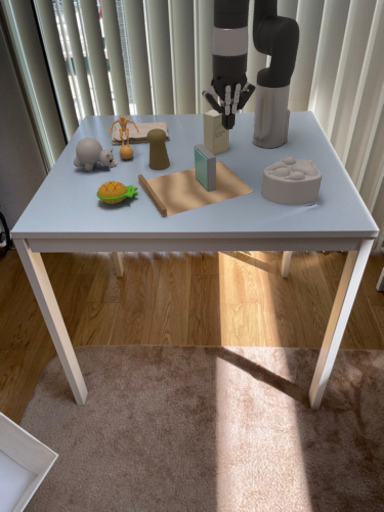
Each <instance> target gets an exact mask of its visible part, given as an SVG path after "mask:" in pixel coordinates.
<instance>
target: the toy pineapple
mask: <svg viewBox="0 0 384 512" xmlns="http://www.w3.org/2000/svg"><path fill="white" fill-rule="evenodd" d="M138 189H139V188H138V187H137V186H134V185H133V184H130V185H127V186H126V185H125V184H124V183H122V182H120V181H116V180H109V181H107V182H105V183H104V182H103V184H101V185H100V186H99V187H98V189H97V192H96V197H97V198H98V199H99V200H100V201H101V202H103V203H105V204H107V205H108V204H110V205H117V204H118V203H121V202H123V201H125V199H126V198H133V196H135V195H138Z"/></svg>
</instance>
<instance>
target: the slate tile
mask: <svg viewBox="0 0 384 512" xmlns="http://www.w3.org/2000/svg"><path fill="white" fill-rule="evenodd" d="M193 150H194V151H193V152H194V168H195V177H196V179H197V180H198V181H199V182H200V183H201V184H202V185H203V186H204V187H205V188H206V189H207V191H208V192H211V191H215V190H216V162H217V156H216V155H213V154H212V153H211V152H210V151H209V150H208V149H207V148H206V147H205V146H204V144H202V143H200V144H195V145H194V147H193Z"/></svg>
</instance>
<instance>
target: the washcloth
mask: <svg viewBox="0 0 384 512" xmlns="http://www.w3.org/2000/svg"><path fill="white" fill-rule="evenodd" d="M135 124H136V126H137V128H138V130H139V133H137V129H136V128H135V126H134V124H133V123H129V124H128V123H127V126H126V129H127V128H128V129H129V137H128V138H129V146H133V145H145V144H150V143H149V142H148V140H147V133H148V132H149V131H150V130H152V129H162V130H164V131H165V133H166V135H167V138H166V142H165V143H167V142H168V141H170V134H169V133H168V131H169V129H168V128H169V127H168V124H167V123H166V122H165V121H164V122H163V121H159V122H143V123H142V122H141V123H135ZM119 129H122V128H121V126H120V124H116V125H115V126H113V128H112V134H111V135H112V136H111V143H112V145H114V146H122V140H121V138H120V131H119ZM122 138H123V140H124V145H127V137H126V135H125V132H123V136H122Z"/></svg>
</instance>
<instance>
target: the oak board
mask: <svg viewBox="0 0 384 512" xmlns="http://www.w3.org/2000/svg"><path fill="white" fill-rule="evenodd" d="M137 179H138V183H139V184H140V187H142V189H143V190H144V192H145V193H146V195H147V196H148V198H149V199H150V200H151V202H152V203H153V204H154V206H155V208H156V209H157V211H158V212H159V214H160V216H161V217H162V218H166V217H169V216H174V215H178V214H180V213H184V212H188V211H191V210H194V209H198V208H202V207H205V206H209V205H212V204H216V203H219V202H223V201H227V200H230V199H234V198H237V197H240V196H245V195H248V194H251V193H254V192H255V191H254V189H252V188H251V187H250V186H249V185H248V184H246V182H244V180H242V179H241V178H240V177H239V175H237V174H236V173H235V172H233V170H232V169H231V168H229V166H227V165H226V164H225V162H223V161H220V160H219V161H216V190H215V191H211V192H208V191H207V189H206V188H205V187H204V186H203V185H202V184H201V183H200V182H199V181H198V180H197V179H196V177H195V167H193V168H189V169H185V170H180V171H176V172H174V173H173V172H172V173H168V174H165V175H162V176H157V177H154V178H153V177H152V178H148V179H146V178H145V177H144V176H143V174H141V173H139V174H138V175H137Z"/></svg>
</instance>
